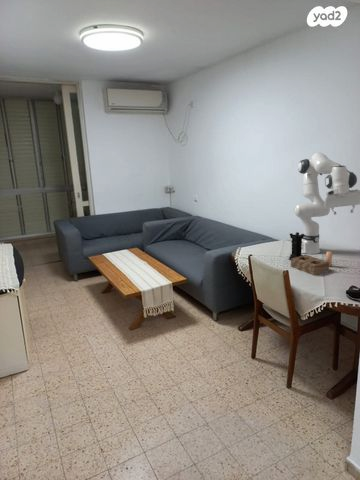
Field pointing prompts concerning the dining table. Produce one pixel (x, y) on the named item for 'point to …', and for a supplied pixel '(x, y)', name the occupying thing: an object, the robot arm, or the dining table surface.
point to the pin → (329, 258)
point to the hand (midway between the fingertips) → (343, 213)
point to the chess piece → (296, 245)
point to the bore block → (310, 264)
